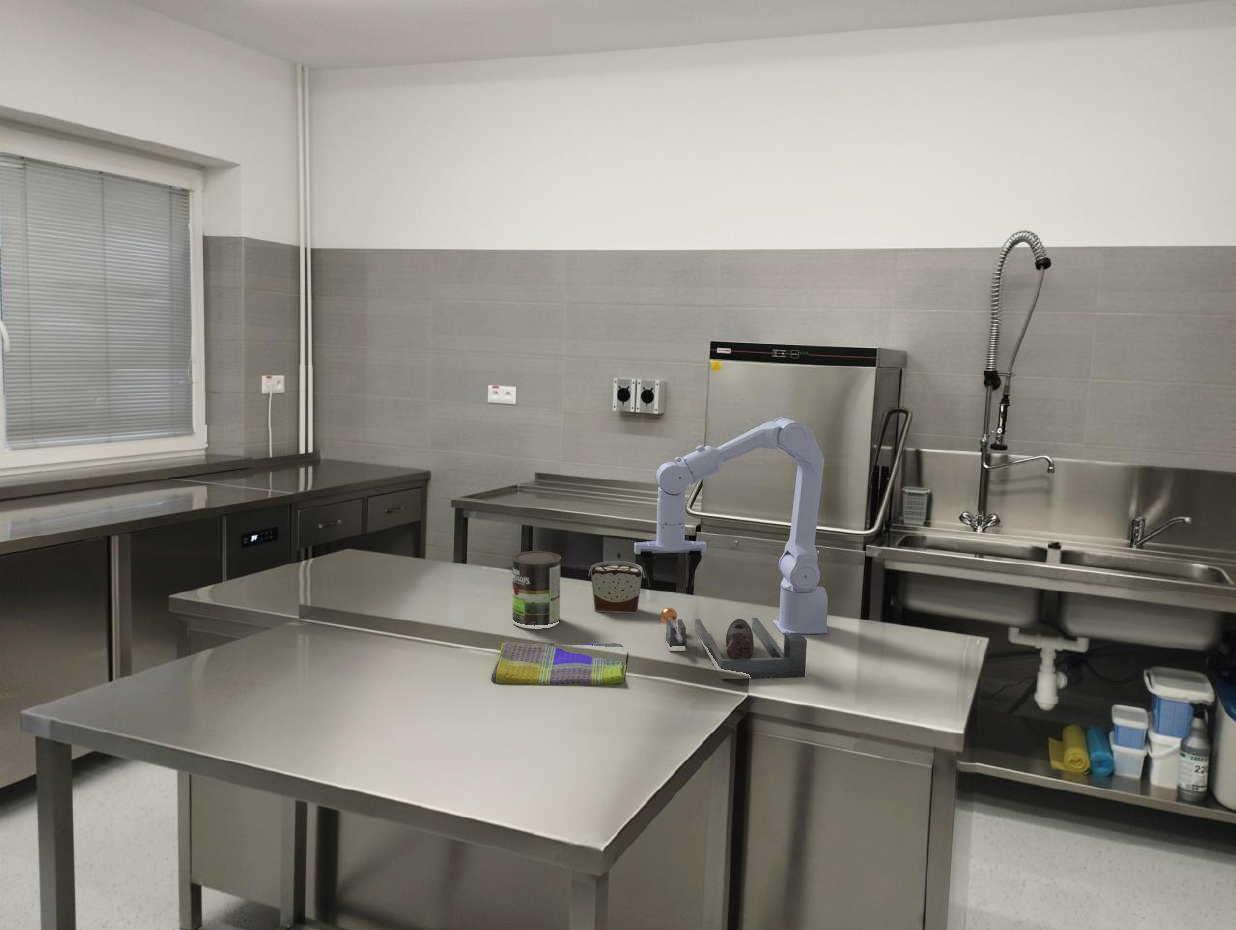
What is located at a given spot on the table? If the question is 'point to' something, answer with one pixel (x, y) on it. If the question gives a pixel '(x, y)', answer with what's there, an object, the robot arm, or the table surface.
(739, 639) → the perforated stone tool
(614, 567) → the food container
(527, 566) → the coffee can
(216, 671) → the table surface
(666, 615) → the lever
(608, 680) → the dish towel
